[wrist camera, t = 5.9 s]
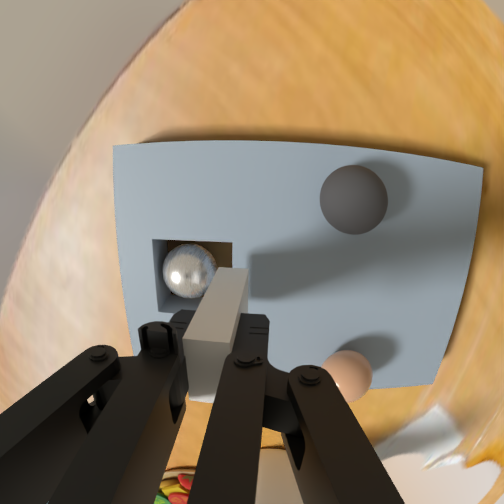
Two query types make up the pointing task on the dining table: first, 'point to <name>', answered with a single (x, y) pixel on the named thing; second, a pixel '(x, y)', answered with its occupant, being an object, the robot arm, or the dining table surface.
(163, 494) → the toy food set
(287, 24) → the dining table surface
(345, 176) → the black ball
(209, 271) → the steel ball
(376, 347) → the board
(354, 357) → the terracotta ball
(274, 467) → the milk bottle
